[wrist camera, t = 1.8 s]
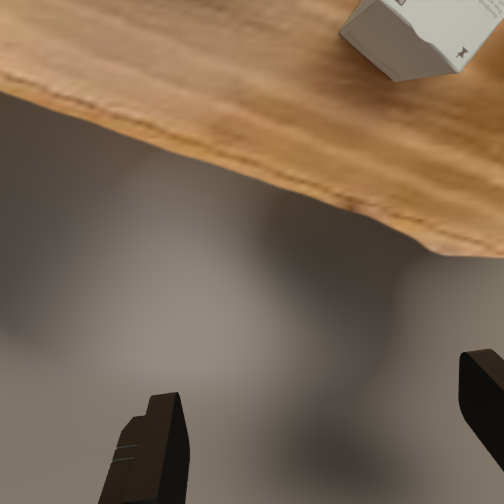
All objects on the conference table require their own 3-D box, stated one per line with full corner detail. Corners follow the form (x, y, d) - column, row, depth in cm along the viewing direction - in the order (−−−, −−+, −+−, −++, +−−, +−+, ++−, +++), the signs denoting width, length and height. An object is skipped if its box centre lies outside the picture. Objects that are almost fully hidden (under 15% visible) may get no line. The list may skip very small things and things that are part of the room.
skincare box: (431, 36, 45) (525, 4, 31) (391, 86, 46) (463, 78, 32) (371, -22, 43) (441, -84, 29) (331, 32, 44) (379, -2, 30)
